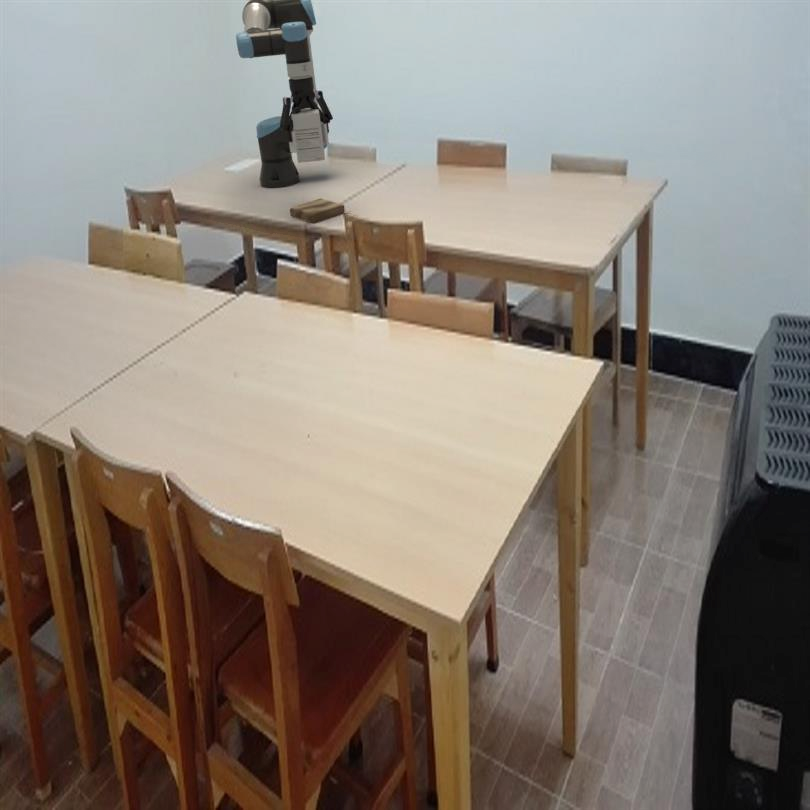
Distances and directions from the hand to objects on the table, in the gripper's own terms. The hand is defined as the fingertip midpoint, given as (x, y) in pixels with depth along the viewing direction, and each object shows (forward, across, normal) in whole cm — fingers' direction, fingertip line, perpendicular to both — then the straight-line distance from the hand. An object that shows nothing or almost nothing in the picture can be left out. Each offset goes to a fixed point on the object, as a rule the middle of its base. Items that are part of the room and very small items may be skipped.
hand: (309, 148), depth 264 cm
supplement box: (+4, 0, 0) cm, 4 cm away
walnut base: (+21, -1, -2) cm, 21 cm away
